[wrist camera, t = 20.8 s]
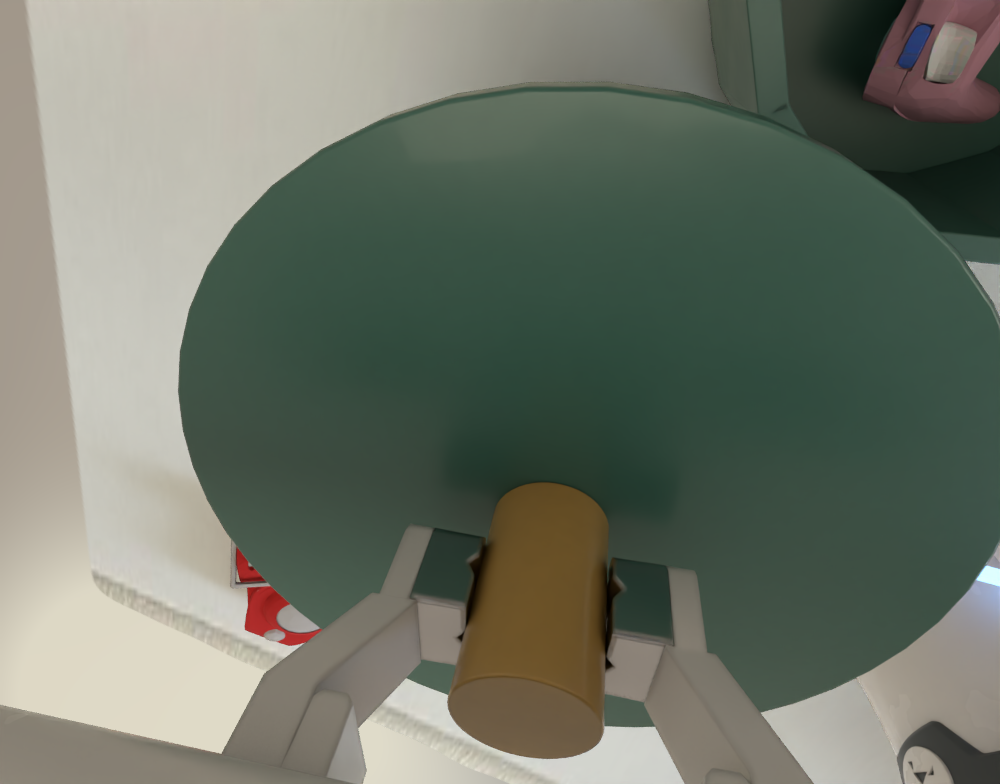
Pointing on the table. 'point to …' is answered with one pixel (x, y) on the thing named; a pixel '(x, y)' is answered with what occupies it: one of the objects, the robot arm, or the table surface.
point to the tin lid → (601, 392)
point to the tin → (861, 107)
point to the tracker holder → (269, 606)
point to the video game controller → (938, 62)
